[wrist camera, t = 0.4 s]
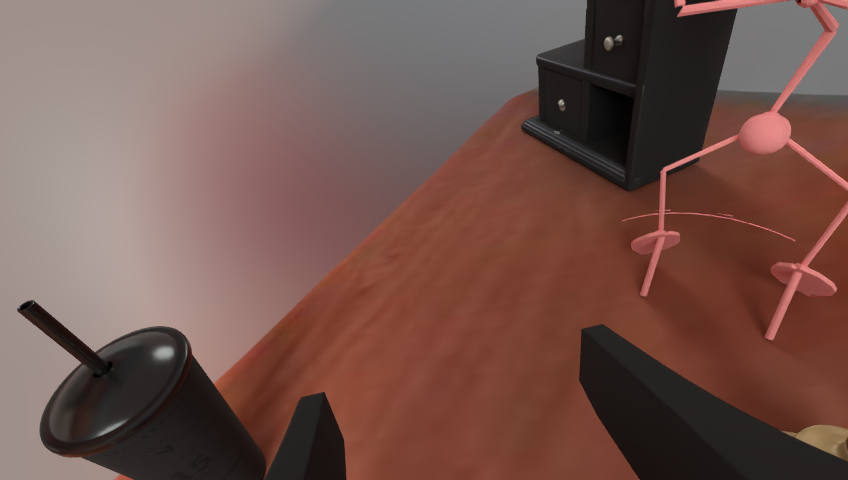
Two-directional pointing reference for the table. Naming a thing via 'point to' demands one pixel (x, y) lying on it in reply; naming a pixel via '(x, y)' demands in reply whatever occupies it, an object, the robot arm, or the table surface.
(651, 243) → the figurine
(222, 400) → the drinking cup
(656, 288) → the table surface
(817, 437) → the hand bell
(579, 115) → the black drawer organizer
